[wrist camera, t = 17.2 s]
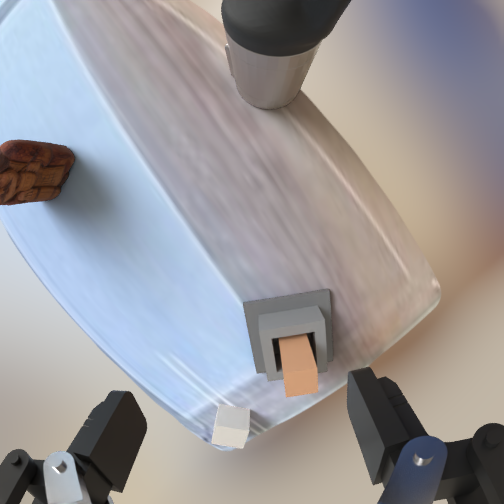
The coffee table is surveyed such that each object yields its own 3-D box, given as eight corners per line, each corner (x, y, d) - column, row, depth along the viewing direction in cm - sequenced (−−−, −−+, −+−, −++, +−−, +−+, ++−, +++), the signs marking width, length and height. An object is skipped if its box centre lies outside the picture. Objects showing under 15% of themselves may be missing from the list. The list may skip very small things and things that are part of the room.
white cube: (219, 403, 47) (215, 425, 41) (250, 408, 48) (249, 430, 42) (214, 422, 49) (211, 443, 43) (243, 427, 49) (242, 448, 43)
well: (256, 370, 45) (256, 392, 39) (243, 302, 42) (241, 319, 36) (331, 357, 44) (340, 378, 39) (327, 288, 42) (338, 304, 36)
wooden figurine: (50, 212, 40) (-25, 229, 22) (33, 191, 39) (-40, 201, 21) (82, 156, 37) (3, 149, 20) (62, 137, 37) (-13, 125, 19)
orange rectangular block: (279, 347, 43) (286, 397, 31) (276, 326, 42) (283, 373, 30) (304, 344, 43) (318, 392, 31) (302, 322, 42) (317, 367, 30)
